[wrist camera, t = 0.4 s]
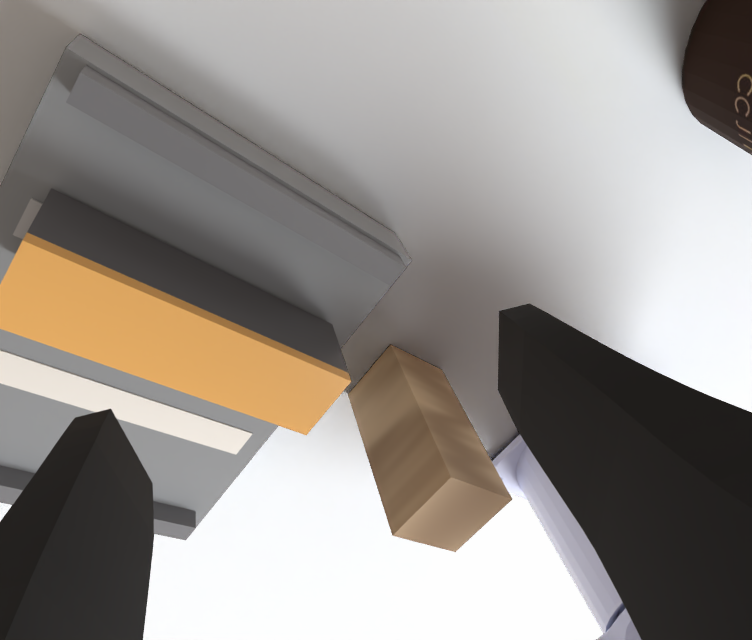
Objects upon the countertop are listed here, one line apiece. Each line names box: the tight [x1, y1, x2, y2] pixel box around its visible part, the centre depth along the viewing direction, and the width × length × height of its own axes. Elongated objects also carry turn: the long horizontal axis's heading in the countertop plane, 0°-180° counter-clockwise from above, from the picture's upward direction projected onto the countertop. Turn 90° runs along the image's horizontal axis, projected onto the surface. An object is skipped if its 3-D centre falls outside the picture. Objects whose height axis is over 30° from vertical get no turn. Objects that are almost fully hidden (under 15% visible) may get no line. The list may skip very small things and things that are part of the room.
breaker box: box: [0, 34, 412, 540], centre depth 19 cm, size 11×15×3 cm
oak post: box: [348, 344, 512, 552], centre depth 22 cm, size 3×3×7 cm
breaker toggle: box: [0, 188, 351, 435], centre depth 16 cm, size 9×2×3 cm, turn 52°
